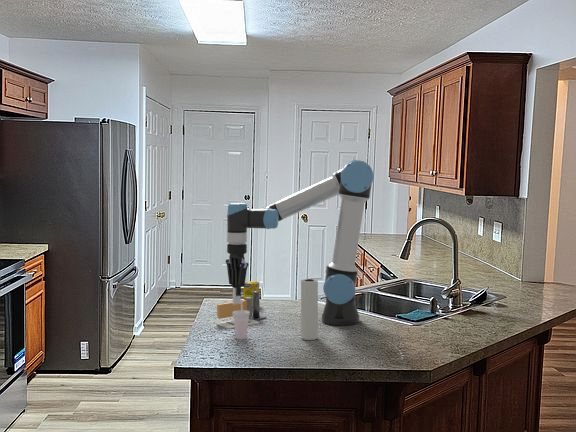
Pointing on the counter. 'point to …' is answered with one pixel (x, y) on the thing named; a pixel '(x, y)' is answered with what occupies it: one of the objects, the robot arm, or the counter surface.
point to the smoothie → (241, 323)
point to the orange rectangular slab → (233, 308)
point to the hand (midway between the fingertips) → (236, 303)
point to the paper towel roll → (309, 309)
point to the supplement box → (250, 289)
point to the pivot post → (256, 307)
